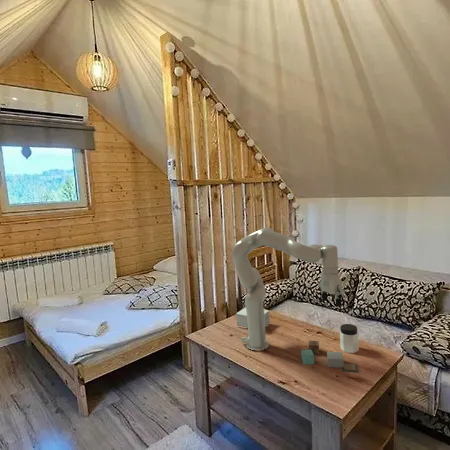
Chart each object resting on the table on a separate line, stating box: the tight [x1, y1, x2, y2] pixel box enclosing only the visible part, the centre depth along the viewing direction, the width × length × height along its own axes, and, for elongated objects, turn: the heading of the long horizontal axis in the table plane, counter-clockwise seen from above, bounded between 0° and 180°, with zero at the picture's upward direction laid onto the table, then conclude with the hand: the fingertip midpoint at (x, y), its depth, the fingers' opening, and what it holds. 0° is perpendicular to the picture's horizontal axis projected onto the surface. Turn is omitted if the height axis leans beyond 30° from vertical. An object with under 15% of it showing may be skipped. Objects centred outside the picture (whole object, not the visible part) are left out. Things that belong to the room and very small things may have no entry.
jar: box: [339, 323, 360, 354], centre depth 169 cm, size 9×8×12 cm
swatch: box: [341, 362, 360, 373], centre depth 152 cm, size 7×7×1 cm
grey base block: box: [326, 351, 345, 368], centre depth 157 cm, size 7×7×4 cm
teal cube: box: [300, 349, 315, 365], centre depth 160 cm, size 5×5×5 cm
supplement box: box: [235, 306, 271, 328], centre depth 206 cm, size 17×13×9 cm
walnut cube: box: [308, 340, 320, 356], centre depth 169 cm, size 5×5×5 cm
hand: (331, 303), depth 165 cm, fingers open, 9 cm apart
